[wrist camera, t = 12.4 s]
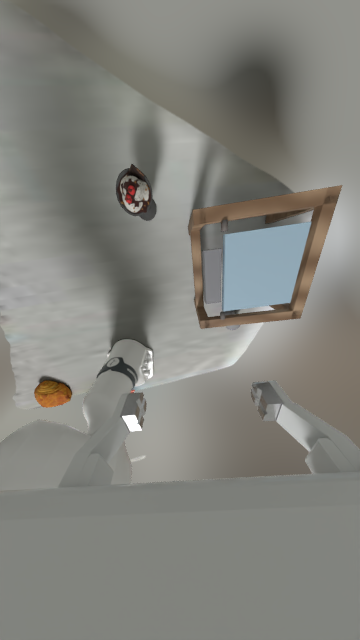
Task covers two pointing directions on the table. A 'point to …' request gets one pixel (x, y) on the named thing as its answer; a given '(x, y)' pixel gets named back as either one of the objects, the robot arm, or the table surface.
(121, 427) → the robot arm
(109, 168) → the table surface
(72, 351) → the table surface
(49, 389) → the croissant
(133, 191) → the sundae
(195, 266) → the stand
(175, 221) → the table surface
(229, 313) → the gray cylinder
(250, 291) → the trapdoor
